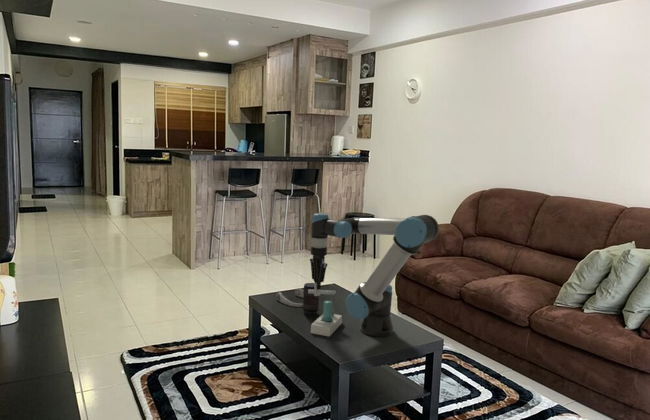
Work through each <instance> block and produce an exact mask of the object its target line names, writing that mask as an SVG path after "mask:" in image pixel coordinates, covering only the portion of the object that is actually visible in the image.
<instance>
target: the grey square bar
mask: <svg viewBox="0 0 650 420" xmlns="http://www.w3.org/2000/svg"><path fill="white" fill-rule="evenodd" d="M308 293H311V294H314V290H310V289H308ZM336 294H337V291H336V290H333V289H332V290H326V289H325V290H324V289H323V290H322V289H320V295H330V296H331V295H335V296H336Z"/></svg>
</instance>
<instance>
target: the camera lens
mask: <svg viewBox="0 0 650 420" xmlns="http://www.w3.org/2000/svg"><path fill="white" fill-rule="evenodd" d="M314 284H315V282H306V283H304V286H303V291H304V292H303V295H304V298H303V299H302V304H303V307H302V310H303V314H304V315H305V316H311V317H312V316H316V315H317V314H318V312H319V301H320V296H314V294H311V293H308V289H310V290H314Z"/></svg>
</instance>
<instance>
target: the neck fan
mask: <svg viewBox="0 0 650 420" xmlns="http://www.w3.org/2000/svg"><path fill="white" fill-rule="evenodd" d="M303 292H304V289H303V288H301V287H297V288H296V289H295V291H294V294H295V296H297V297H298V298H304V295H303ZM276 300H277V301H278V302H279V303H282V304H284V305H287V306H290V307H294V308H303V303H300V302H299V303H297V302H294V301H291V300H289V299H288V297H286V296H285V295H284V294H283V292H277V293H276Z"/></svg>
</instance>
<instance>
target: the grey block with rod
mask: <svg viewBox="0 0 650 420" xmlns="http://www.w3.org/2000/svg"><path fill="white" fill-rule="evenodd" d="M330 301H331V302H332V318H333V320H332V321H331V323H330V322H325V321H323V320H322V317H323V313H322V314H321V315H320V316H319V317H317V318H316V320H314V321H313V322H312V323H311V325H310V334H314V335H320V336H326V337H331V336H332V335H333V333H335V331H336V330H338V328H339V327H340V326H341V325H342V323H343V315H341V314H336V313H335V304H336V303H335V301H336V295H331V294H330Z"/></svg>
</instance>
